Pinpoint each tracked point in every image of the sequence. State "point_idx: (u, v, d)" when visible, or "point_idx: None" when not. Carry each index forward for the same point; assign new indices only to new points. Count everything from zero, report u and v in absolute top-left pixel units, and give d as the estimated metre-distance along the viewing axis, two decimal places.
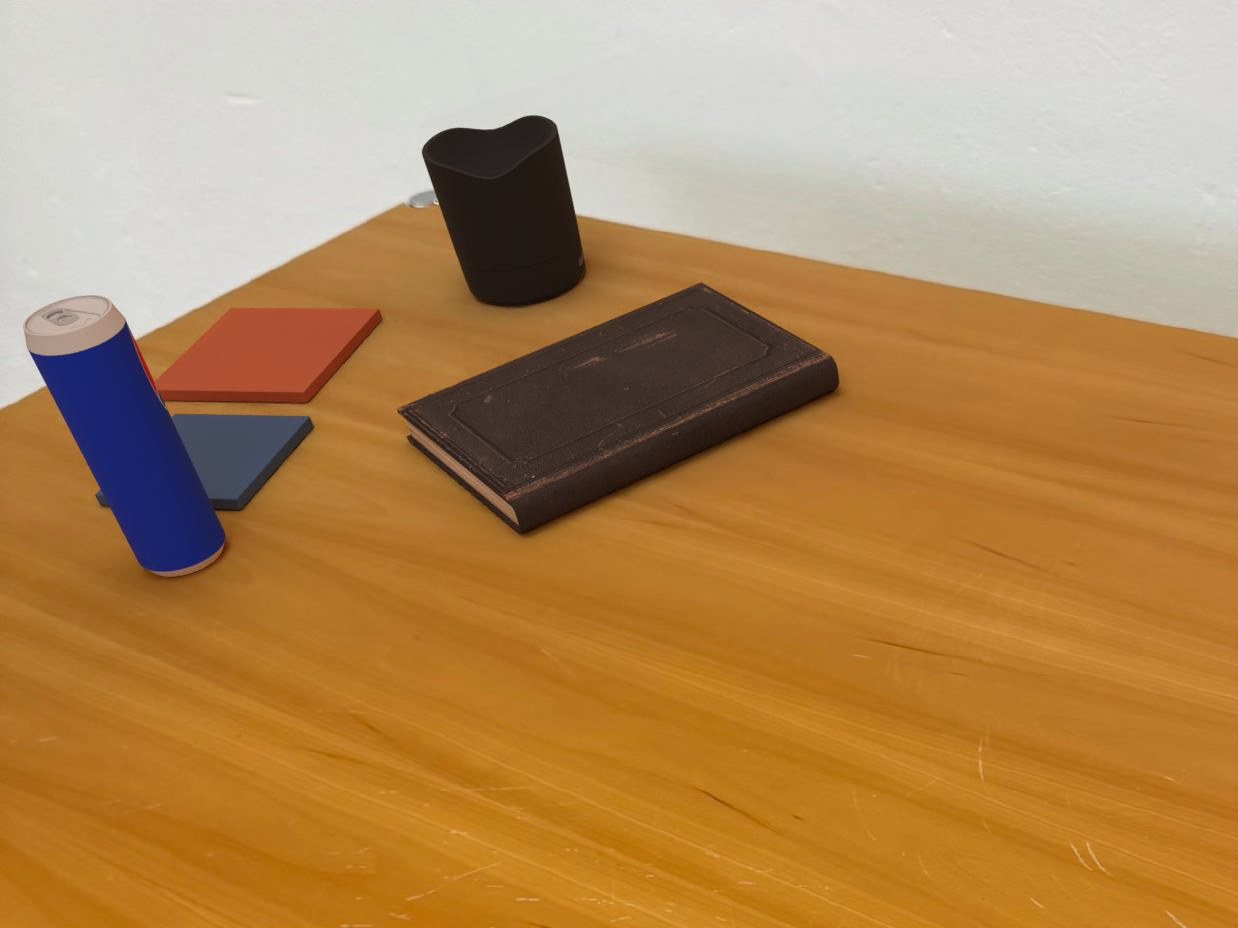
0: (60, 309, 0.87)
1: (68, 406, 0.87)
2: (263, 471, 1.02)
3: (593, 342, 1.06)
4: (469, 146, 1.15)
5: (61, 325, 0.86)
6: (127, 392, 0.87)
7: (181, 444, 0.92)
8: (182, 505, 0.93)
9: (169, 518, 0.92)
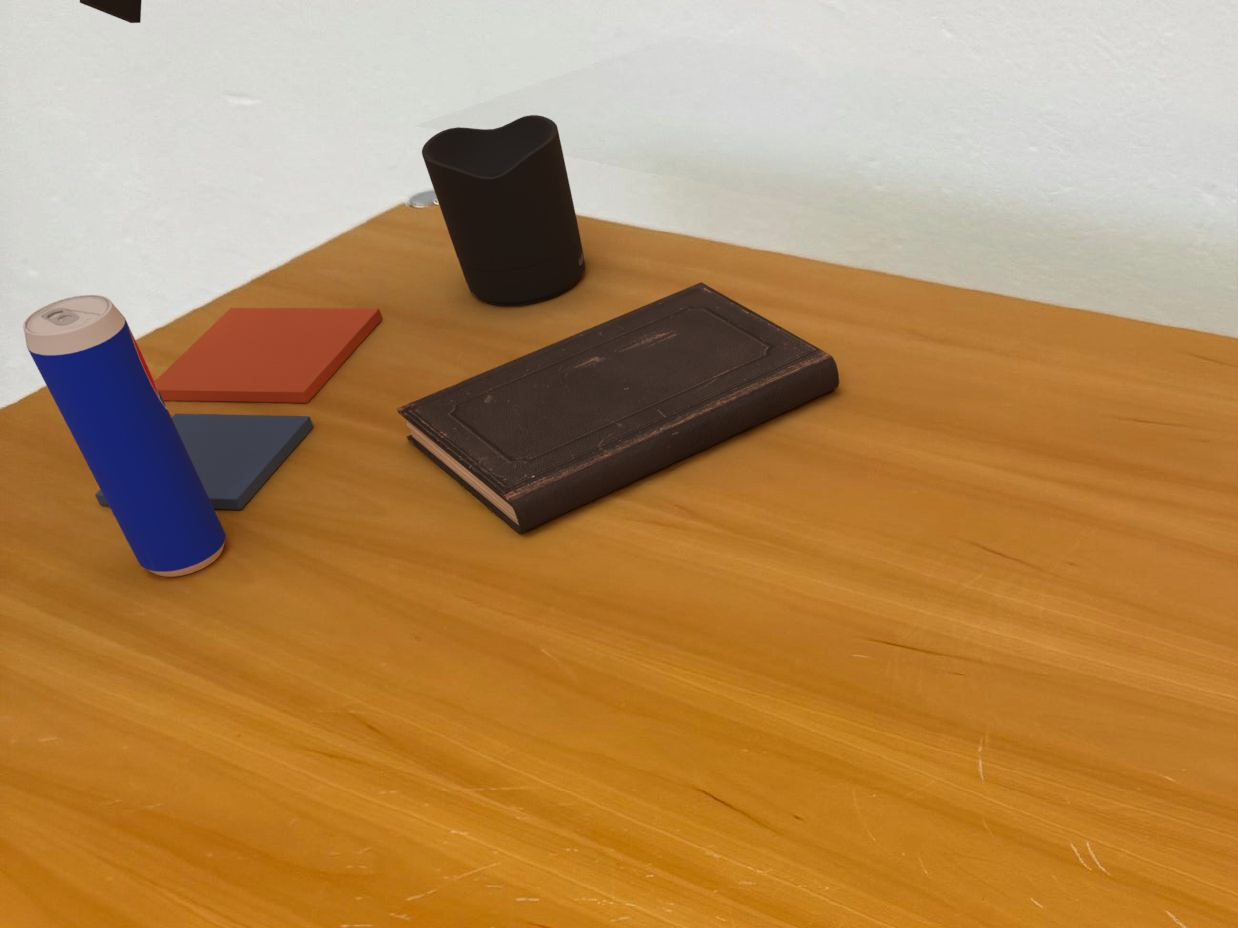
0: (60, 309, 0.87)
1: (68, 406, 0.87)
2: (263, 471, 1.02)
3: (593, 342, 1.06)
4: (469, 146, 1.15)
5: (61, 325, 0.86)
6: (127, 392, 0.88)
7: (181, 444, 0.92)
8: (182, 505, 0.93)
9: (169, 517, 0.92)
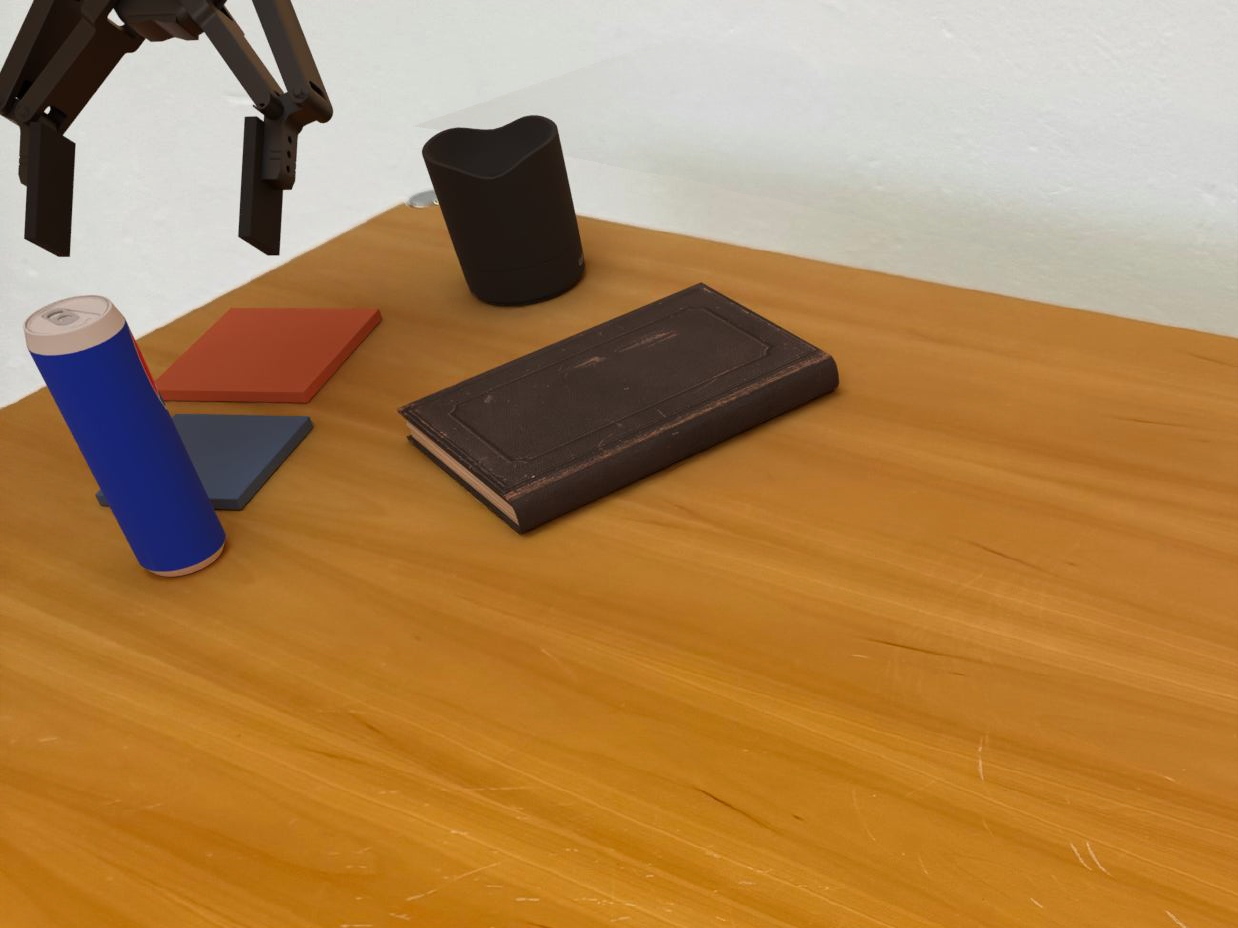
0: (60, 309, 0.87)
1: (68, 406, 0.87)
2: (263, 471, 1.02)
3: (593, 342, 1.06)
4: (469, 146, 1.15)
5: (61, 325, 0.86)
6: (127, 392, 0.88)
7: (181, 444, 0.92)
8: (182, 505, 0.93)
9: (169, 517, 0.92)
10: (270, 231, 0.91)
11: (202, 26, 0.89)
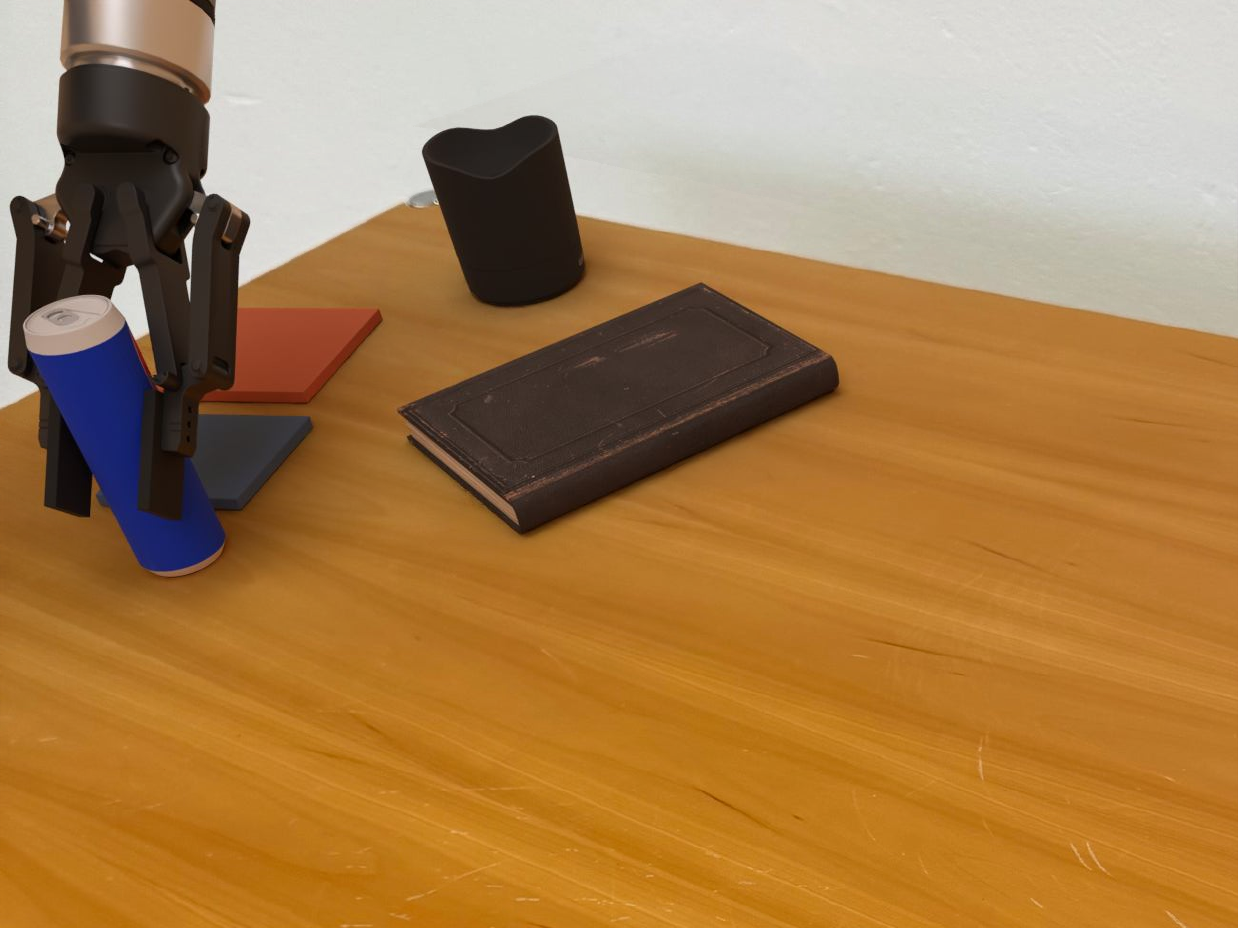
0: (60, 309, 0.87)
1: (68, 406, 0.87)
2: (263, 471, 1.02)
3: (593, 342, 1.06)
4: (469, 146, 1.15)
5: (61, 325, 0.86)
6: (127, 392, 0.88)
7: None
8: (182, 505, 0.93)
9: None
10: (171, 499, 0.90)
11: (140, 270, 0.88)
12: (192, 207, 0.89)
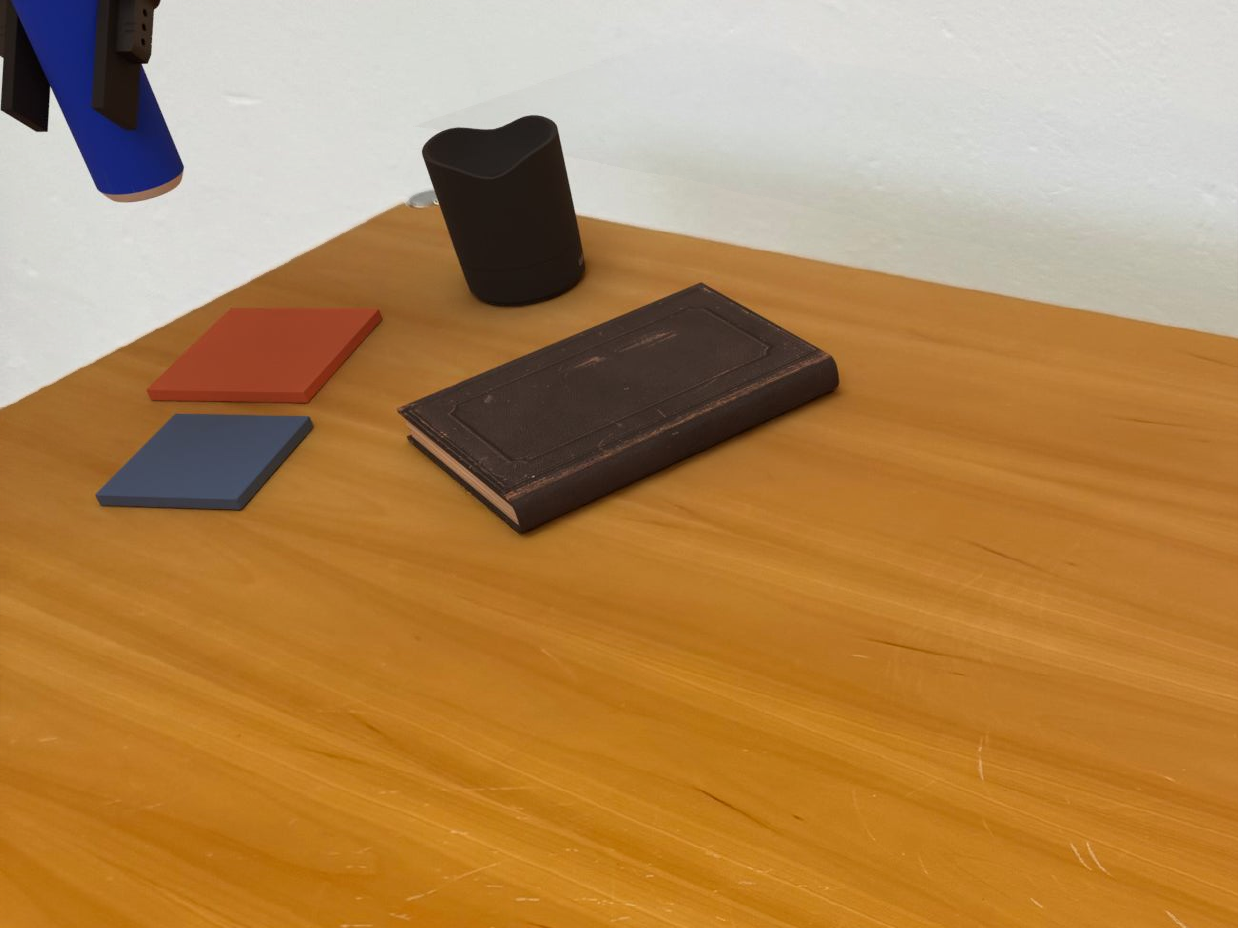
0: None
1: None
2: (263, 471, 1.02)
3: (593, 342, 1.06)
4: (469, 146, 1.15)
5: None
6: None
7: None
8: (139, 121, 0.93)
9: (125, 132, 0.93)
10: (126, 105, 0.91)
11: None
12: None
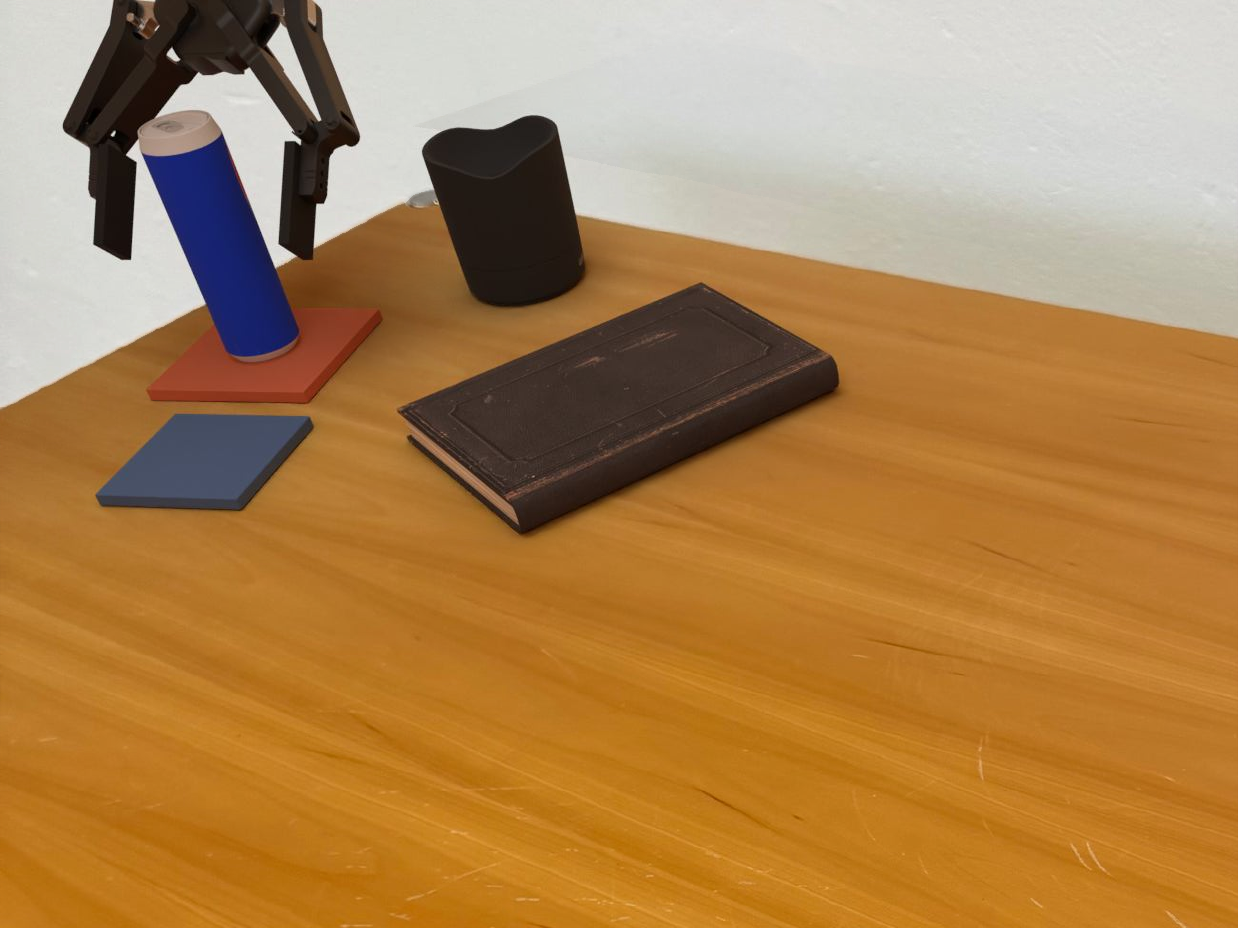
0: (167, 121, 1.04)
1: (173, 202, 1.04)
2: (263, 471, 1.02)
3: (593, 342, 1.06)
4: (469, 146, 1.15)
5: (169, 132, 1.03)
6: (223, 192, 1.04)
7: (264, 244, 1.09)
8: (265, 297, 1.09)
9: (254, 307, 1.09)
10: (305, 239, 1.05)
11: (248, 63, 1.04)
12: (274, 11, 1.05)
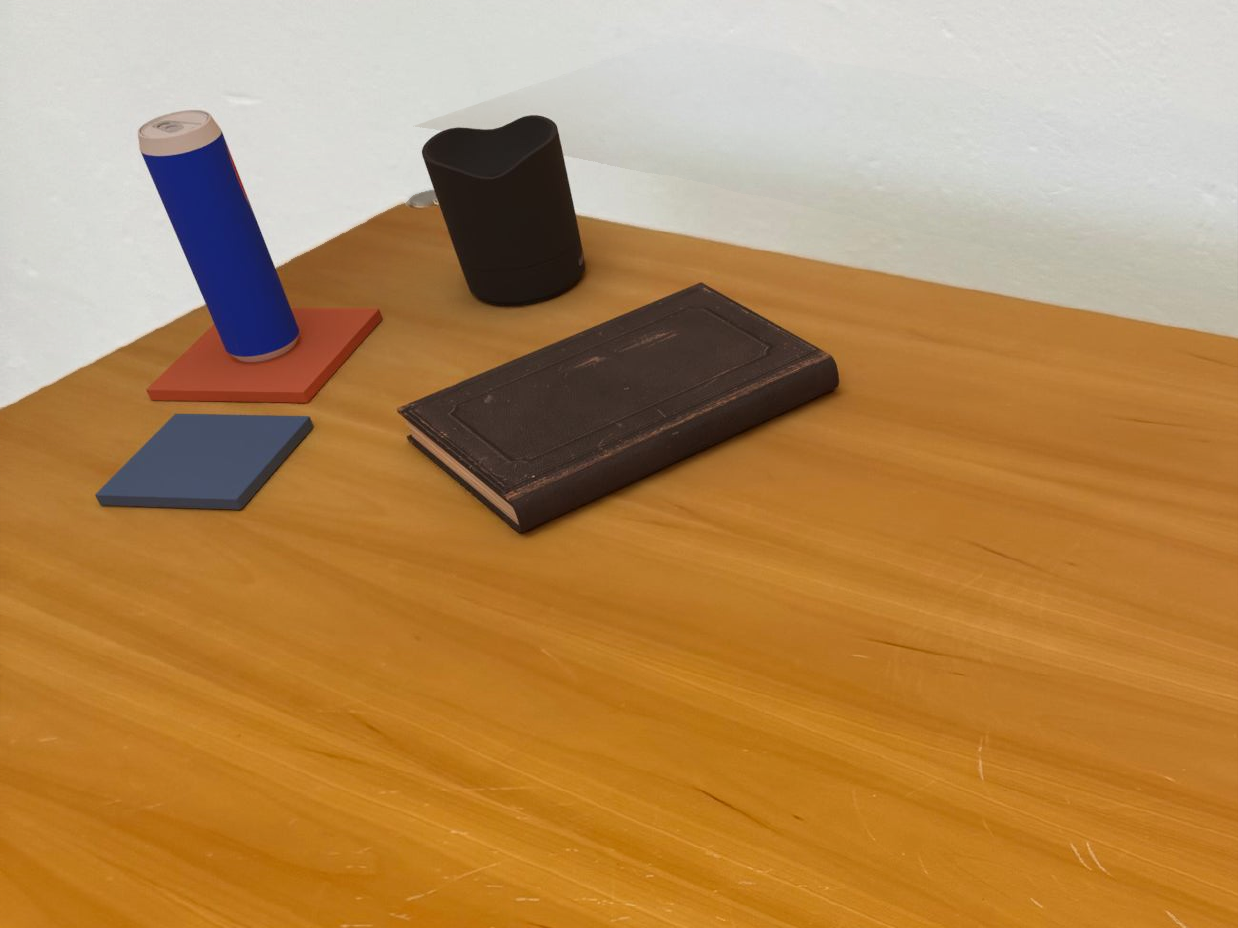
0: (167, 121, 1.04)
1: (173, 202, 1.04)
2: (263, 471, 1.02)
3: (593, 342, 1.06)
4: (469, 146, 1.15)
5: (169, 132, 1.03)
6: (222, 192, 1.04)
7: (264, 244, 1.09)
8: (265, 297, 1.09)
9: (254, 307, 1.09)
10: None
11: None
12: None
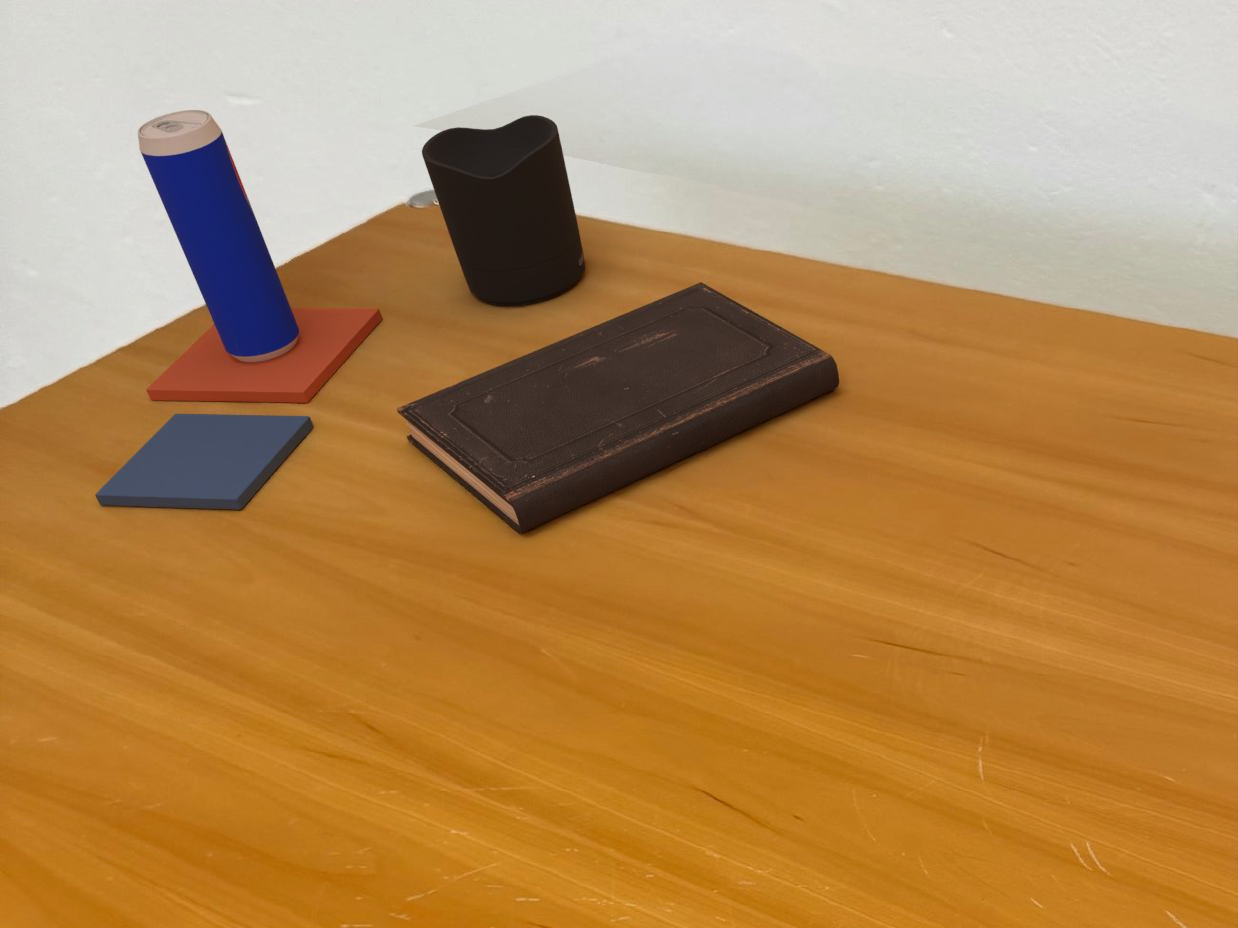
0: (167, 121, 1.04)
1: (173, 202, 1.04)
2: (263, 471, 1.02)
3: (593, 342, 1.06)
4: (469, 146, 1.15)
5: (169, 132, 1.03)
6: (223, 192, 1.04)
7: (264, 244, 1.09)
8: (265, 296, 1.09)
9: (254, 306, 1.09)
10: None
11: None
12: None
